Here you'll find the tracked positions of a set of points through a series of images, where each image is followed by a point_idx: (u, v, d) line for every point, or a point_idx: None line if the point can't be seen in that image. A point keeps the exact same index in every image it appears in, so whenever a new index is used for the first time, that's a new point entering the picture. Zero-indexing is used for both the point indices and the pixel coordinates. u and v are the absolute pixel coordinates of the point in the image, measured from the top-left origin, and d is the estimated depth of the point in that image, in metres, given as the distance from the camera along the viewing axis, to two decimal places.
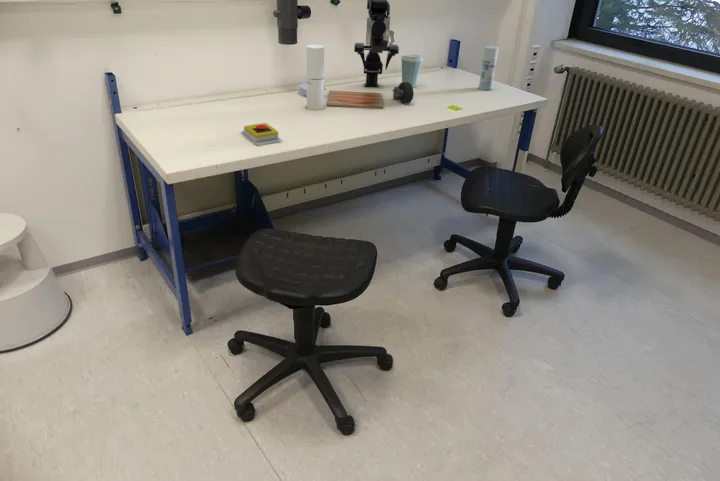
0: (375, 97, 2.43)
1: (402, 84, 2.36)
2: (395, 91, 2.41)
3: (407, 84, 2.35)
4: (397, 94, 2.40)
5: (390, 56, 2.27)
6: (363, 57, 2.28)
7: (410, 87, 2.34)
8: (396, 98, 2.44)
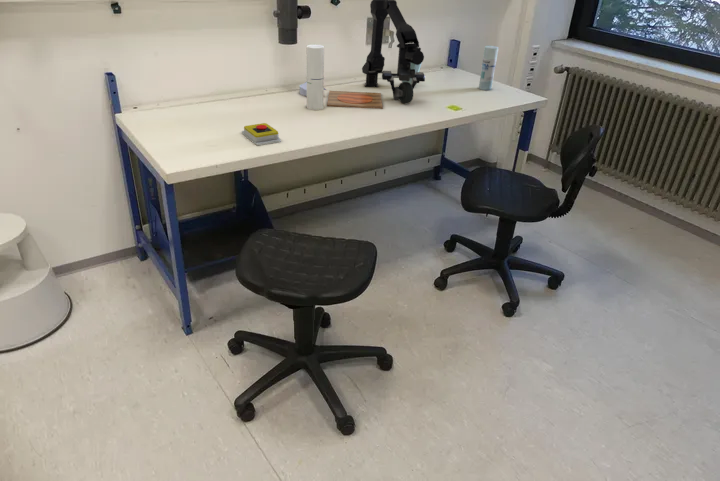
0: (375, 97, 2.43)
1: (402, 84, 2.36)
2: (395, 91, 2.41)
3: (407, 84, 2.35)
4: (397, 94, 2.40)
5: (414, 83, 2.37)
6: (393, 84, 2.38)
7: (410, 87, 2.34)
8: (396, 98, 2.44)
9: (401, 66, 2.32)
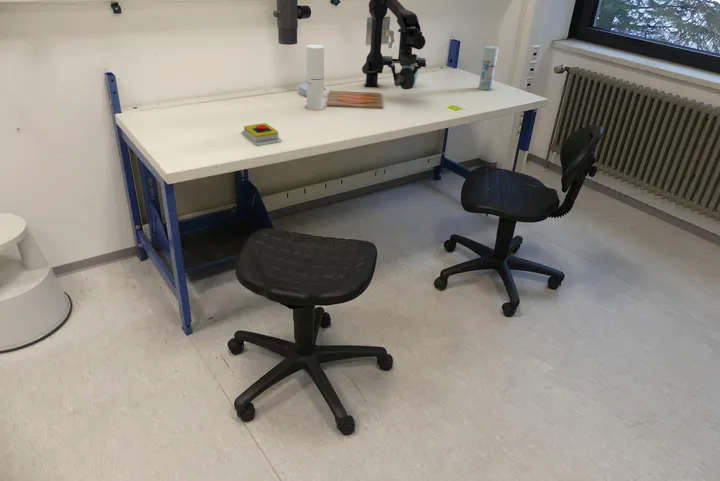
0: (375, 97, 2.43)
1: (403, 70, 2.33)
2: (396, 77, 2.38)
3: (408, 70, 2.31)
4: (398, 80, 2.37)
5: (416, 69, 2.33)
6: (394, 70, 2.35)
7: (411, 73, 2.31)
8: (397, 84, 2.41)
9: (402, 51, 2.29)
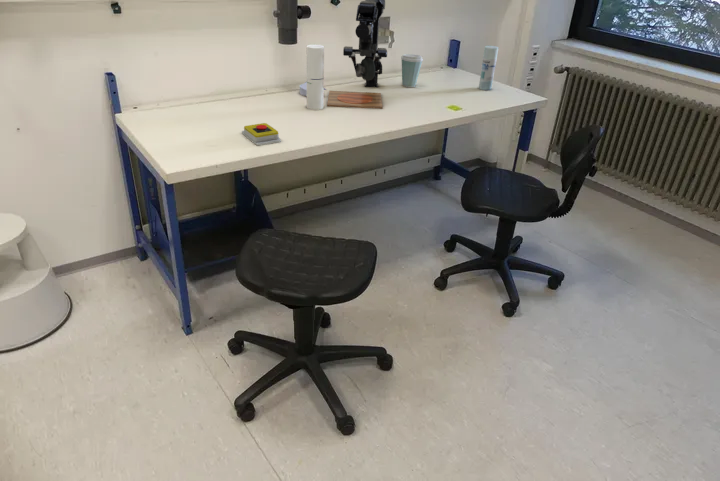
0: (375, 97, 2.43)
1: (364, 60, 2.29)
2: (357, 68, 2.34)
3: (368, 60, 2.28)
4: (359, 71, 2.33)
5: (376, 59, 2.30)
6: (354, 61, 2.31)
7: (372, 63, 2.27)
8: (359, 75, 2.37)
9: (362, 41, 2.25)
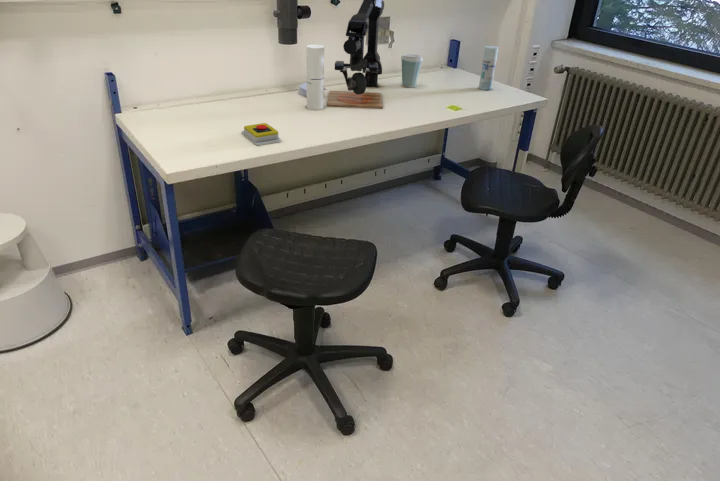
0: (375, 97, 2.43)
1: (355, 75, 2.32)
2: (349, 82, 2.37)
3: (359, 74, 2.30)
4: (350, 85, 2.36)
5: (367, 74, 2.33)
6: (346, 75, 2.34)
7: (362, 78, 2.30)
8: (350, 89, 2.40)
9: (353, 56, 2.28)
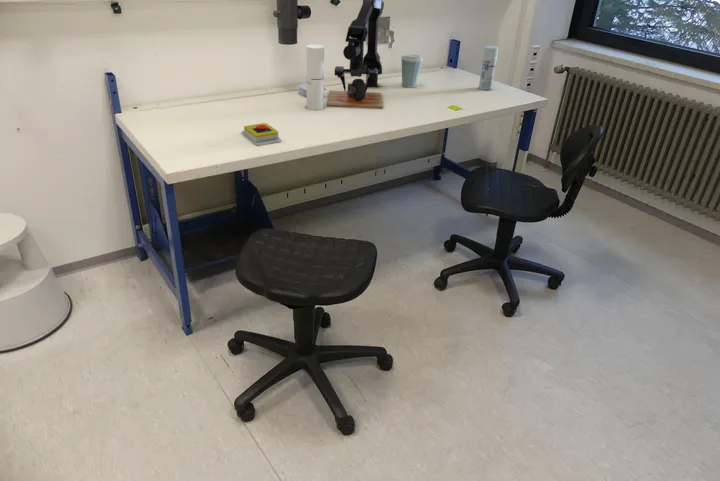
0: (375, 97, 2.43)
1: (355, 81, 2.33)
2: (349, 88, 2.38)
3: (359, 81, 2.32)
4: (350, 91, 2.37)
5: (369, 79, 2.34)
6: (343, 80, 2.35)
7: (362, 84, 2.32)
8: (350, 95, 2.41)
9: (353, 61, 2.29)
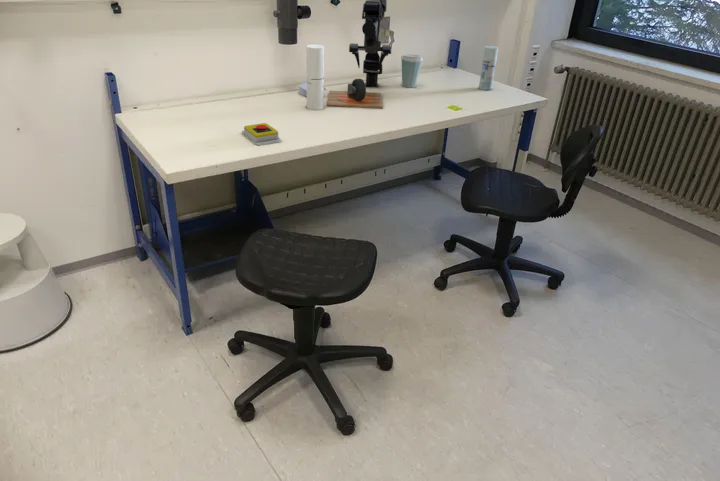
0: (375, 97, 2.43)
1: (355, 81, 2.33)
2: (349, 88, 2.38)
3: (359, 81, 2.32)
4: (350, 91, 2.37)
5: (383, 56, 2.38)
6: (357, 57, 2.39)
7: (362, 84, 2.32)
8: (350, 95, 2.41)
9: (367, 38, 2.34)
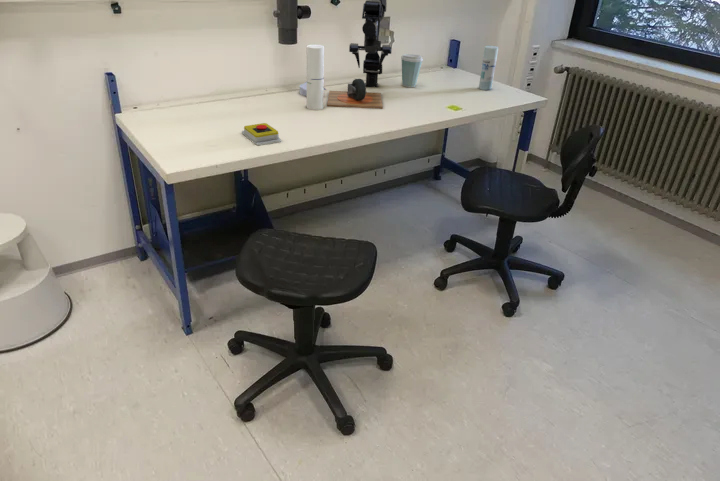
0: (375, 97, 2.43)
1: (355, 81, 2.33)
2: (349, 88, 2.38)
3: (359, 81, 2.32)
4: (350, 91, 2.37)
5: (383, 56, 2.38)
6: (358, 57, 2.39)
7: (362, 84, 2.32)
8: (350, 95, 2.41)
9: (367, 38, 2.34)
